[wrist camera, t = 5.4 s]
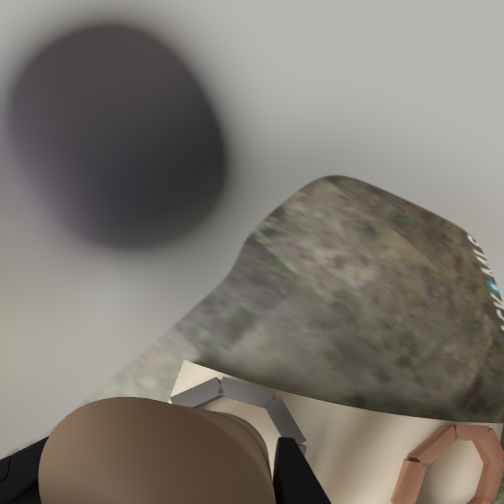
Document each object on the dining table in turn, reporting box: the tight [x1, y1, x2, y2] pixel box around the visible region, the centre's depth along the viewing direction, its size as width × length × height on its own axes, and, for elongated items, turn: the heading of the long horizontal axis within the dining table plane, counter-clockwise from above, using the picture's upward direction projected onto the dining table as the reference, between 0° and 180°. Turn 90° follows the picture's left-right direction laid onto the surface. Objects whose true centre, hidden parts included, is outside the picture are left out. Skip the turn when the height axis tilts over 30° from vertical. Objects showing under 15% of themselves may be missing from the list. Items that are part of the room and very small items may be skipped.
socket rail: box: [168, 360, 504, 504], centre depth 14 cm, size 23×9×3 cm, turn 72°
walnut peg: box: [38, 397, 276, 504], centre depth 7 cm, size 4×4×9 cm
